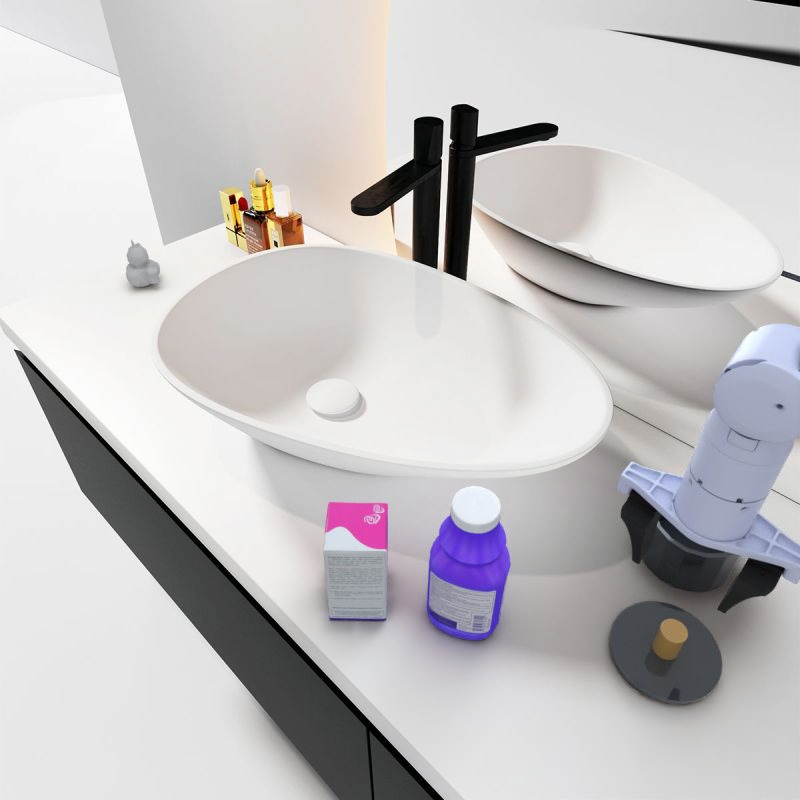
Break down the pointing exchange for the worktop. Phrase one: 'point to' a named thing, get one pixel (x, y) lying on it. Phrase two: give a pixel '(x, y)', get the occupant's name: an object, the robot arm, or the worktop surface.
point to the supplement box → (356, 561)
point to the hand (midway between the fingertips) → (681, 578)
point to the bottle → (469, 567)
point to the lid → (665, 652)
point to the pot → (687, 560)
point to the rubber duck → (141, 267)
